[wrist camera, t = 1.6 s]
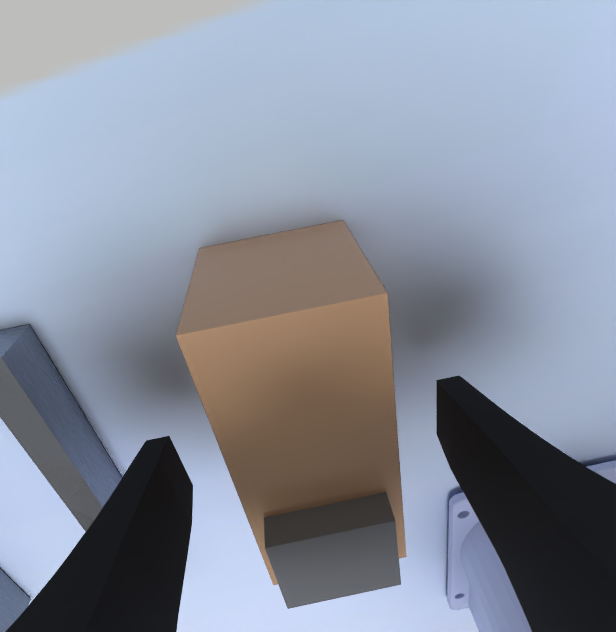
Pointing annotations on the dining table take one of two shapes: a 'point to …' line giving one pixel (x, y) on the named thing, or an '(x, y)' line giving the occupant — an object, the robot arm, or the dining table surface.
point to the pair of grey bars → (49, 440)
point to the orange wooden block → (302, 404)
